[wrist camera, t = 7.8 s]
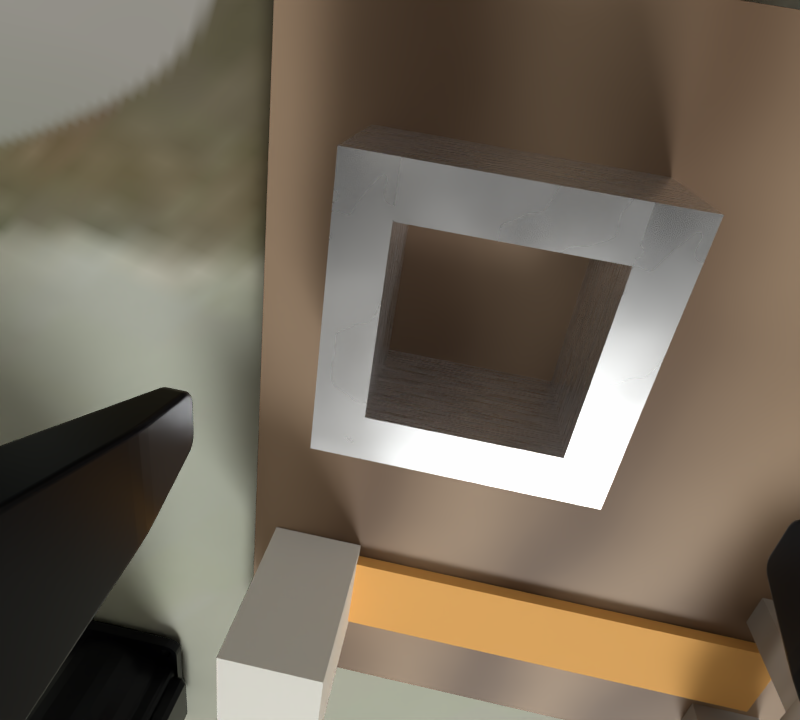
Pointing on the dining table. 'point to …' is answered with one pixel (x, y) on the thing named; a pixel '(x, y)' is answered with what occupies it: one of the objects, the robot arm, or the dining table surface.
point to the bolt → (446, 633)
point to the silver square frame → (483, 388)
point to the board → (553, 320)
